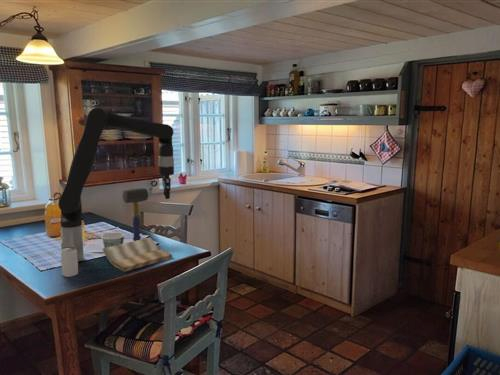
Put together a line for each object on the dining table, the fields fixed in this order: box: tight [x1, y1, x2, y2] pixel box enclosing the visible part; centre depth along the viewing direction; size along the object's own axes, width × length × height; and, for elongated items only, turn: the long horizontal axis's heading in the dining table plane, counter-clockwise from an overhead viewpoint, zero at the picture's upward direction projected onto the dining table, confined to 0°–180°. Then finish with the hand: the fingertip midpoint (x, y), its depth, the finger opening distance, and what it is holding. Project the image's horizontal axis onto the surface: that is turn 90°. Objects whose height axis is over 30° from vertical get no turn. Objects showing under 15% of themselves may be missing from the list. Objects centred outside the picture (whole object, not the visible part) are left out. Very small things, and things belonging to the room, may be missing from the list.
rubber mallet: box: [122, 187, 149, 241], centre depth 224 cm, size 12×8×30 cm, turn 129°
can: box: [60, 246, 79, 278], centre depth 179 cm, size 6×6×12 cm
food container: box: [100, 231, 126, 248], centre depth 217 cm, size 12×12×6 cm
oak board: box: [112, 248, 173, 273], centre depth 197 cm, size 26×10×2 cm, turn 136°
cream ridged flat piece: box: [102, 237, 161, 266], centre depth 203 cm, size 26×10×2 cm, turn 136°
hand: (166, 197), depth 205 cm, fingers open, 8 cm apart
